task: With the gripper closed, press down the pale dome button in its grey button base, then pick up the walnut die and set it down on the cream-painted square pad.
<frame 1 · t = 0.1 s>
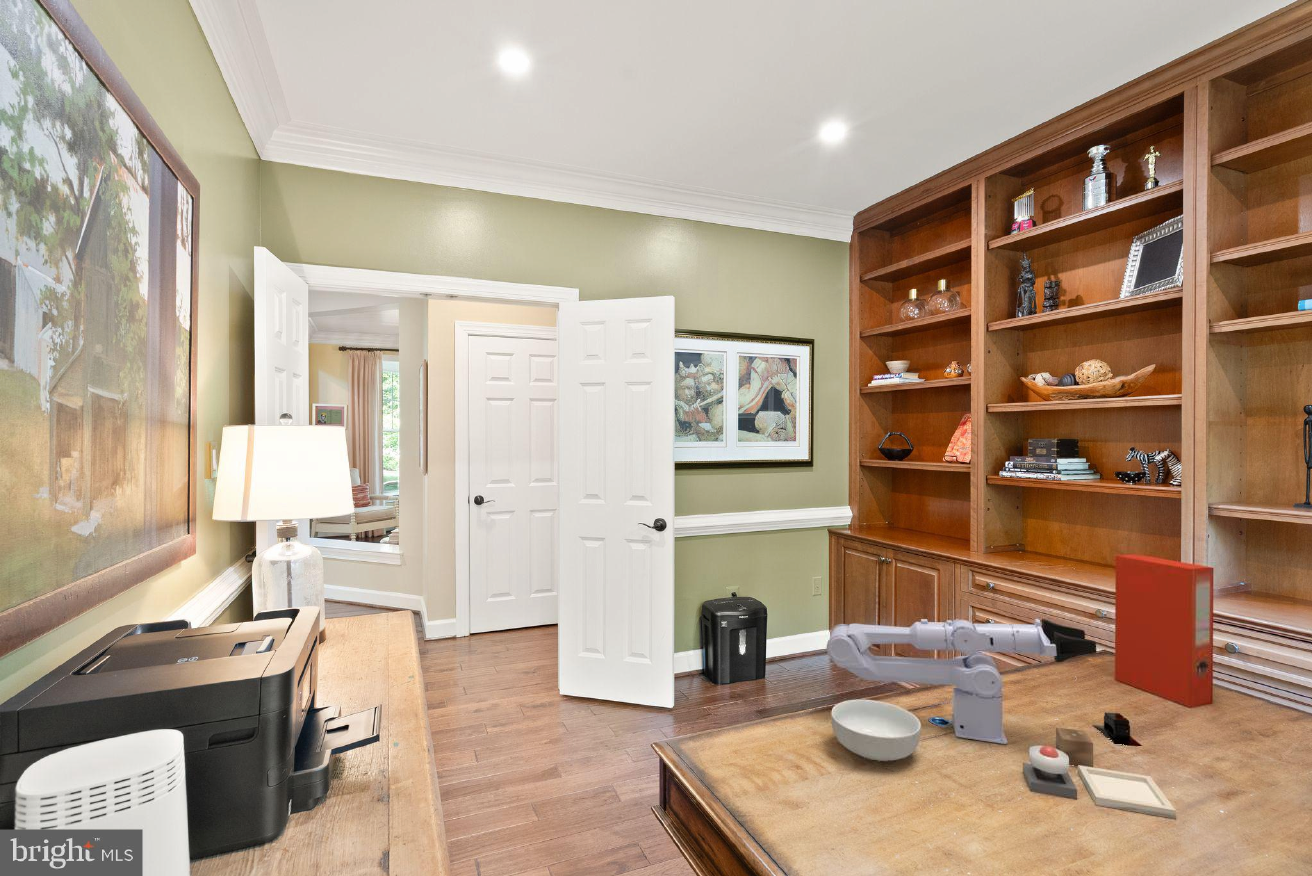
hand: (1090, 641, 125), 22 cm above the table, tool horizontal, fingers open, 7 cm apart
black tapered mount: (1116, 738, 131), on the table
dome: (1048, 760, 113), point 4 cm above the table, slide at 0.0 cm
grey button base: (1048, 784, 113), on the table
cereal bowl: (875, 752, 124), on the table
file binder: (1161, 692, 154), on the table
die pad: (1123, 794, 109), on the table
die: (1074, 760, 121), on the table
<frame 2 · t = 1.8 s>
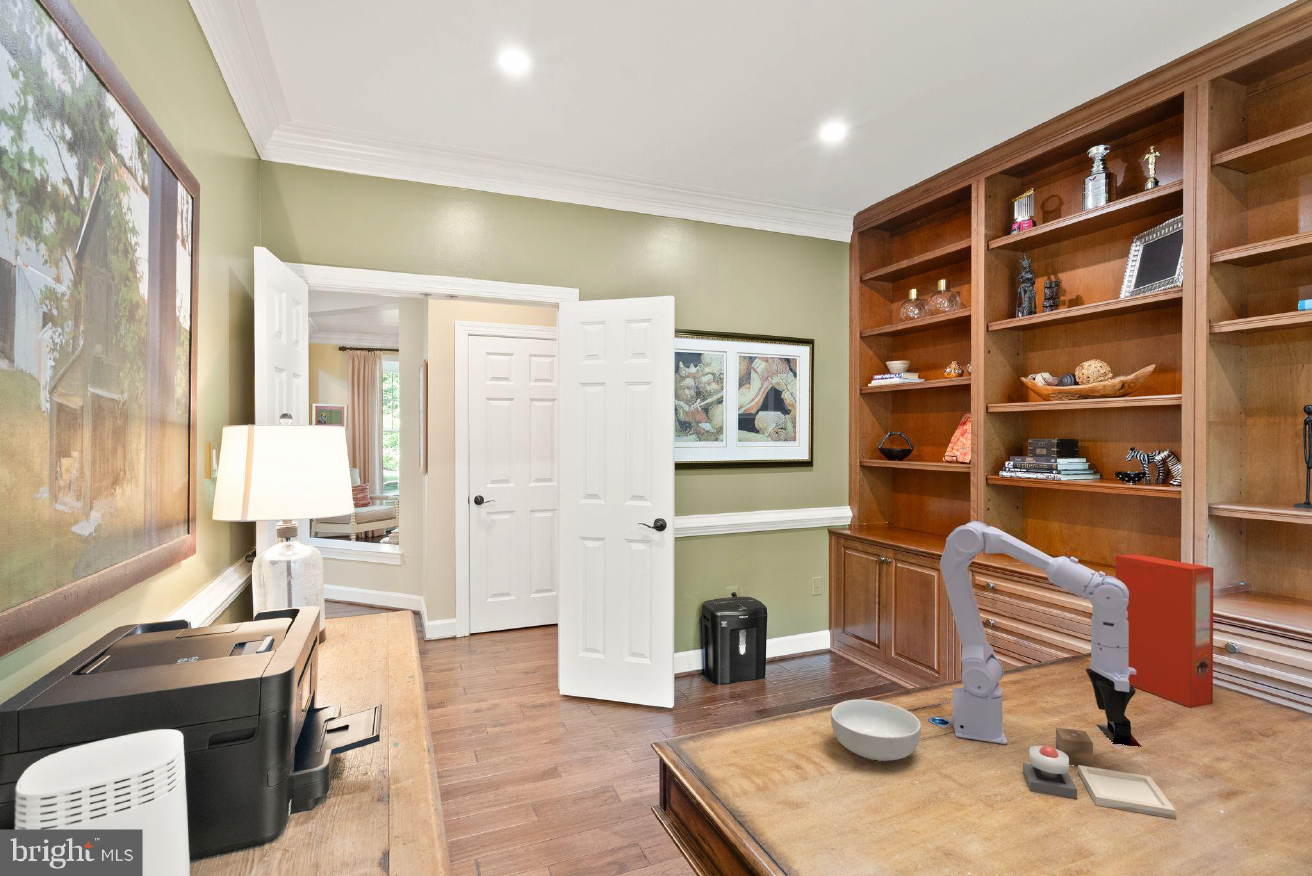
hand: (1109, 715, 118), 10 cm above the table, tool pointing down, fingers open, 5 cm apart
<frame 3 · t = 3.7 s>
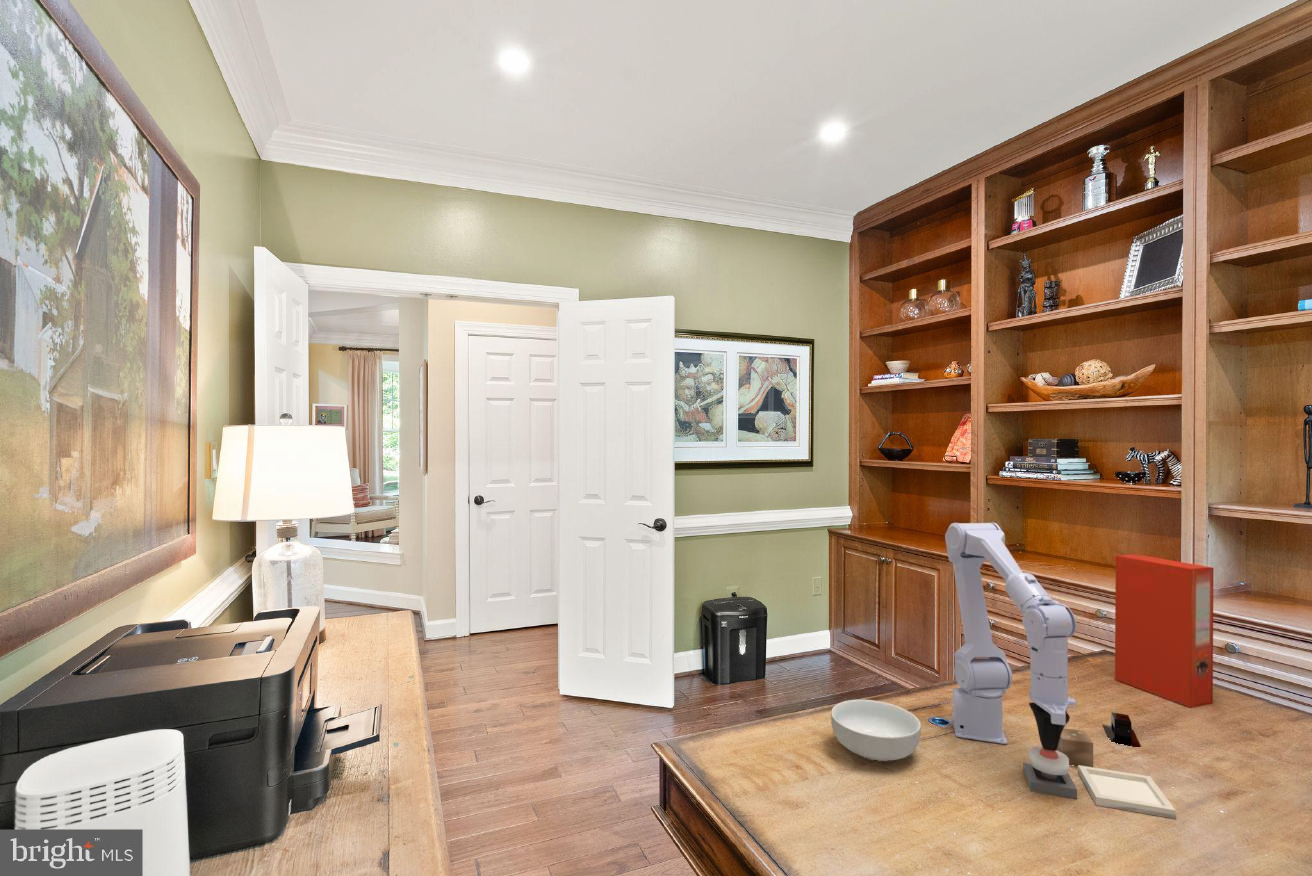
hand: (1049, 748, 112), 7 cm above the table, tool pointing down, fingers closed, pressing on dome
dome: (1048, 761, 113), point 4 cm above the table, slide at -0.2 cm, touching gripper
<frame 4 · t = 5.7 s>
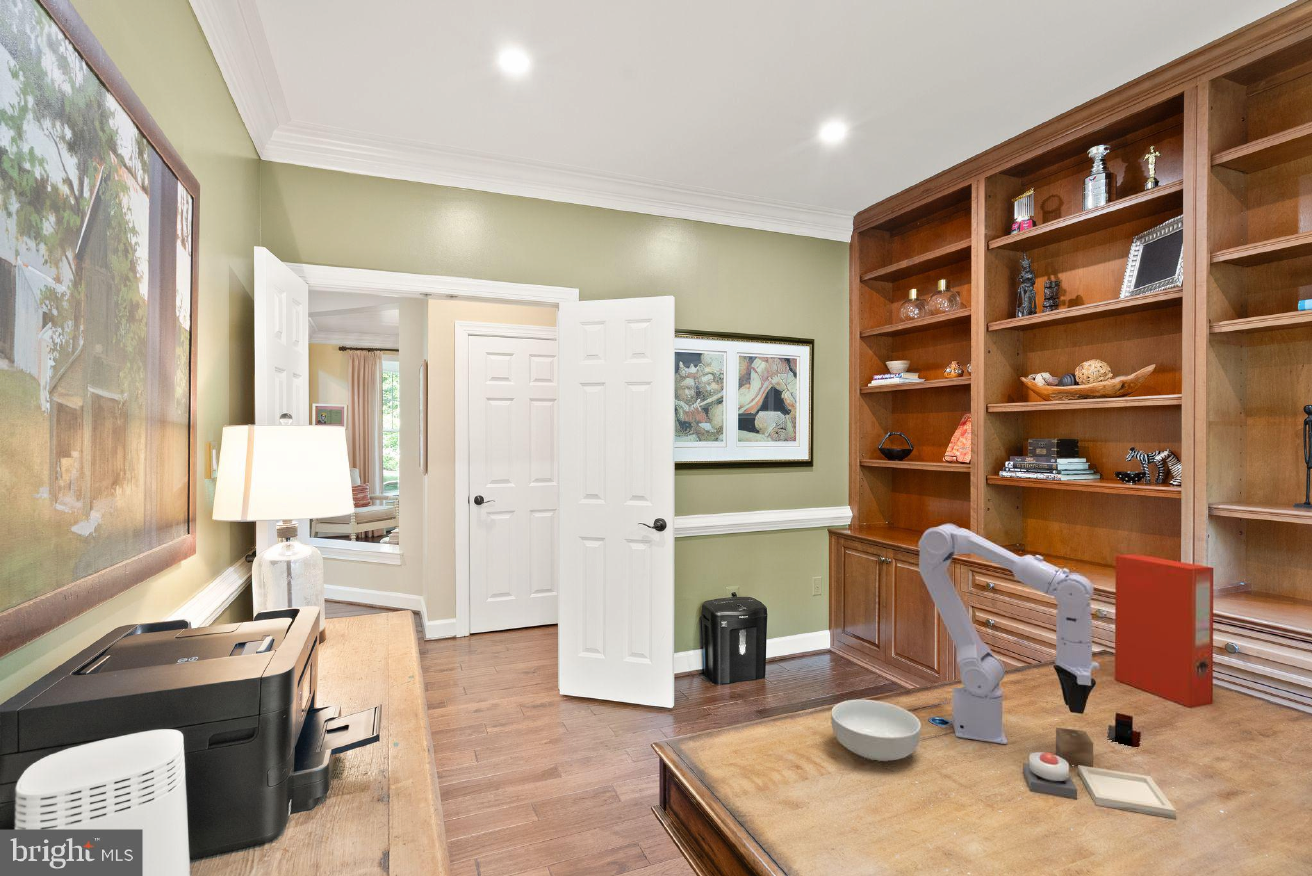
hand: (1073, 708, 121), 10 cm above the table, tool pointing down, fingers open, 3 cm apart
dome: (1048, 767, 113), point 3 cm above the table, slide at -1.2 cm
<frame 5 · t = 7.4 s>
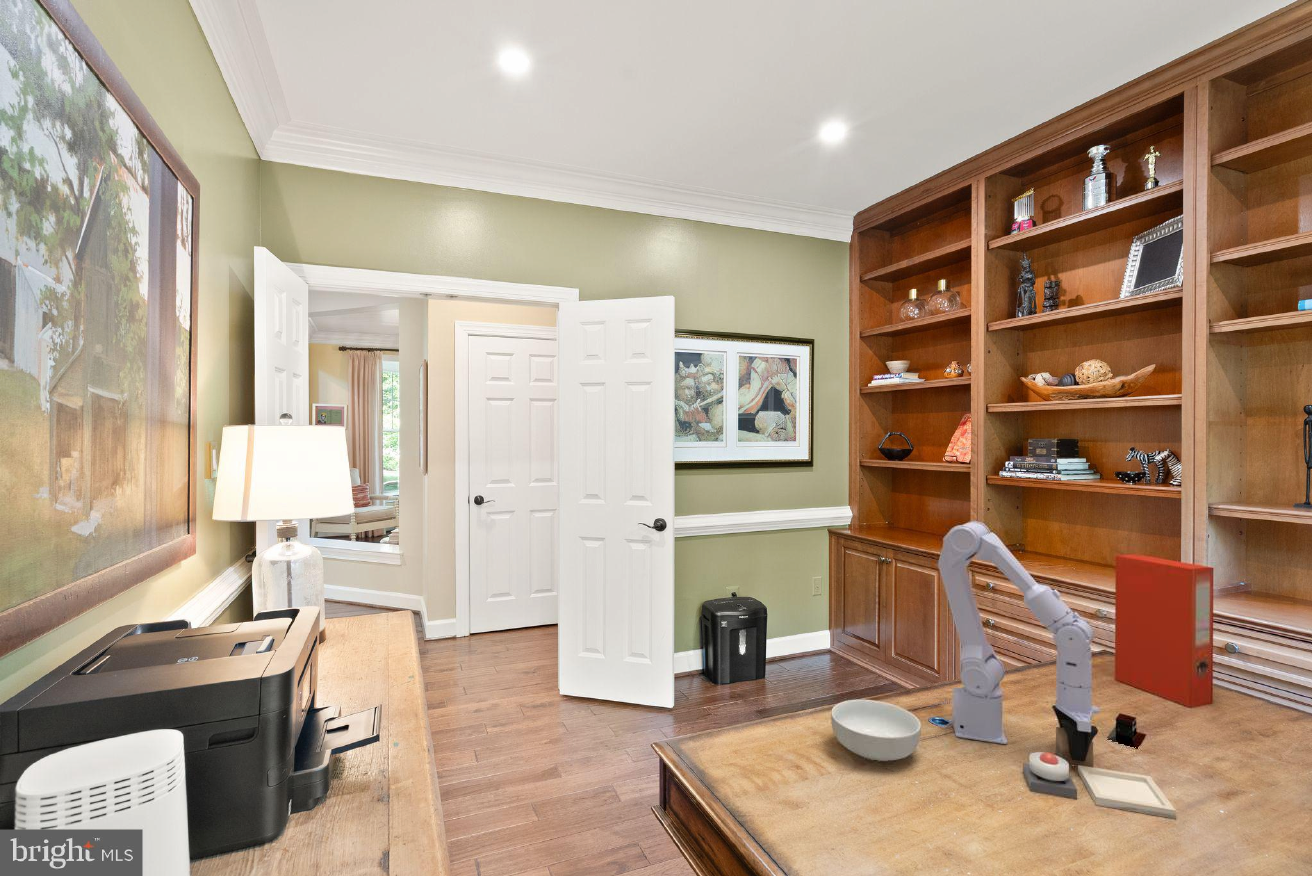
hand: (1074, 752, 121), 1 cm above the table, tool pointing down, fingers closed on die, 5 cm apart
die: (1074, 760, 121), on the table, touching gripper
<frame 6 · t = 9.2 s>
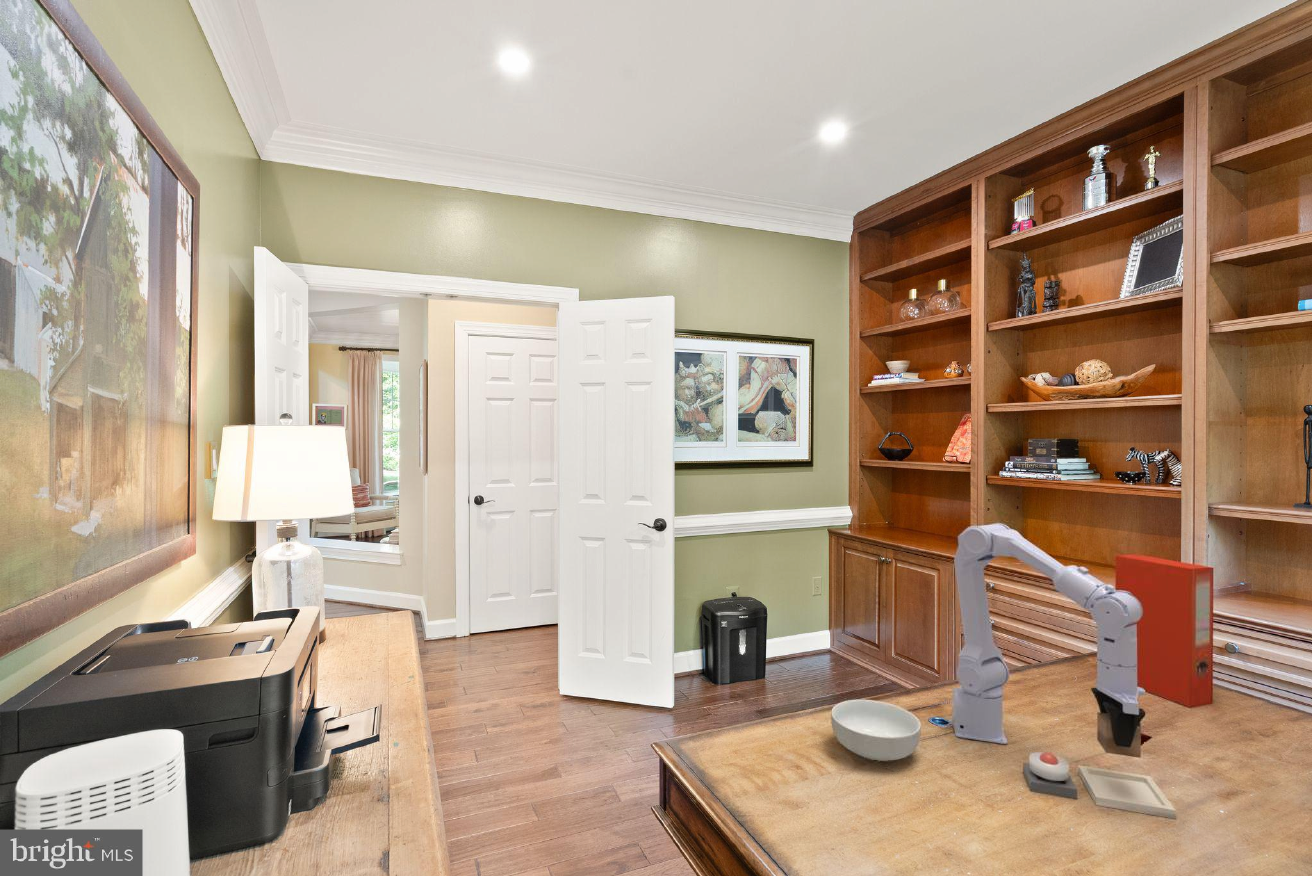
hand: (1117, 738, 111), 9 cm above the table, tool pointing down, fingers closed on die, 5 cm apart
die: (1118, 748, 111), point 7 cm above the table, touching gripper
when the fingers open (3 cm above the table, at t = 10.9 s): die drops 1 cm, resting on die pad.
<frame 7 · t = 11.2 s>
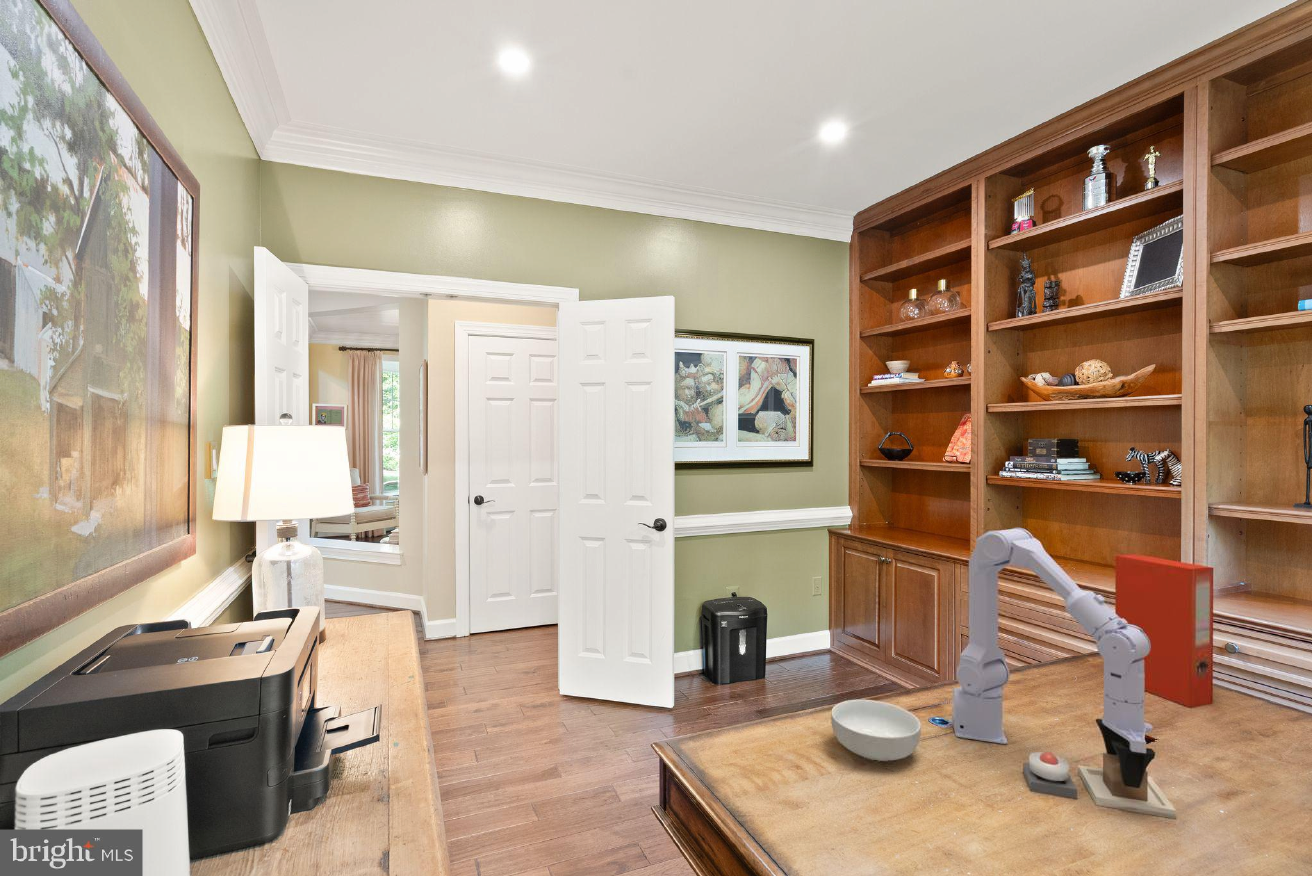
hand: (1123, 774, 109), 3 cm above the table, tool pointing down, fingers open, 7 cm apart
die: (1124, 790, 109), point 1 cm above the table, touching die pad
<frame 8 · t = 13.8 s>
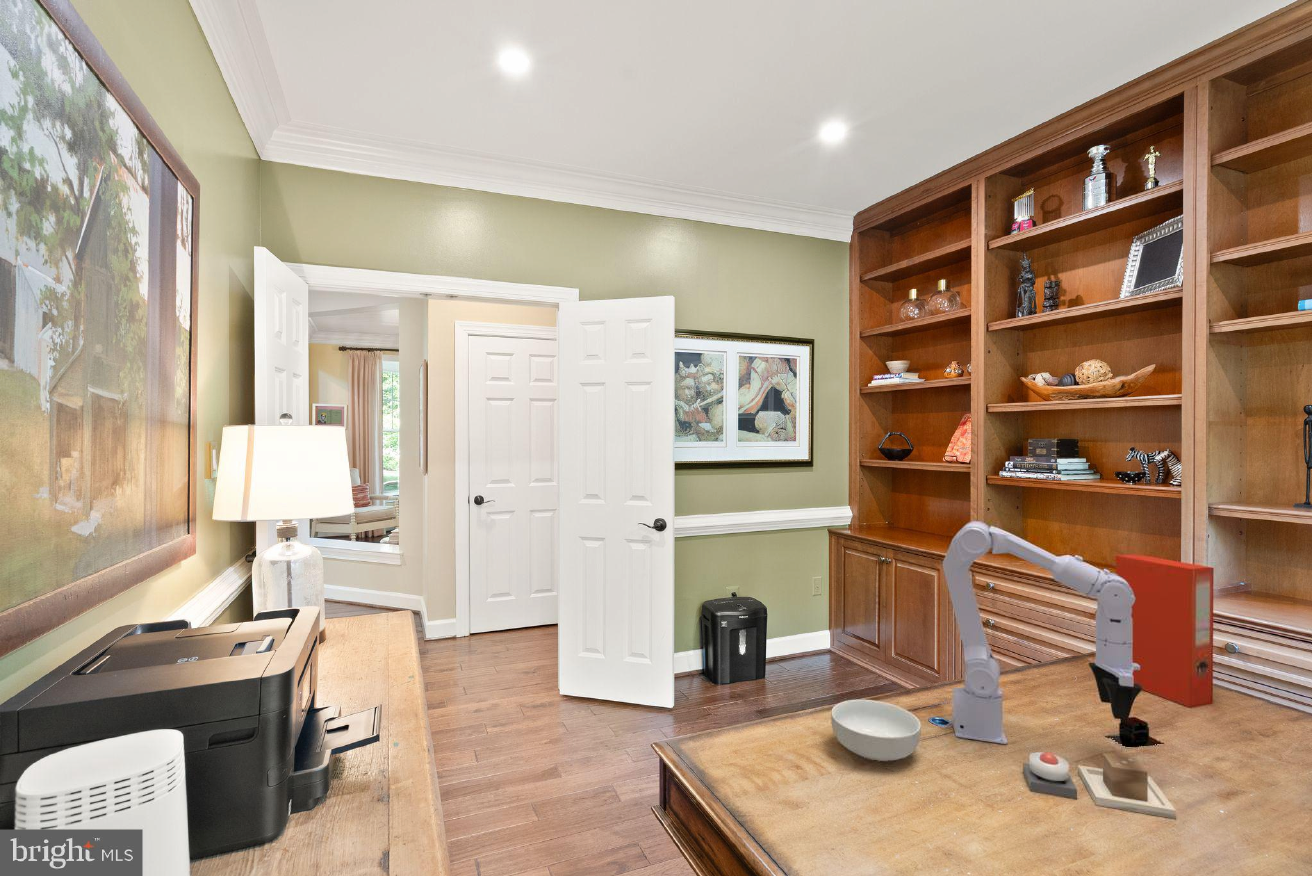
hand: (1113, 710, 120), 10 cm above the table, tool pointing down, fingers open, 7 cm apart
at the end: die inside the target area on the die pad (0.1 cm from its centre), point 0.6 cm above the die pad's base; dome slide at -1.2 cm; die tilted 0° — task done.
